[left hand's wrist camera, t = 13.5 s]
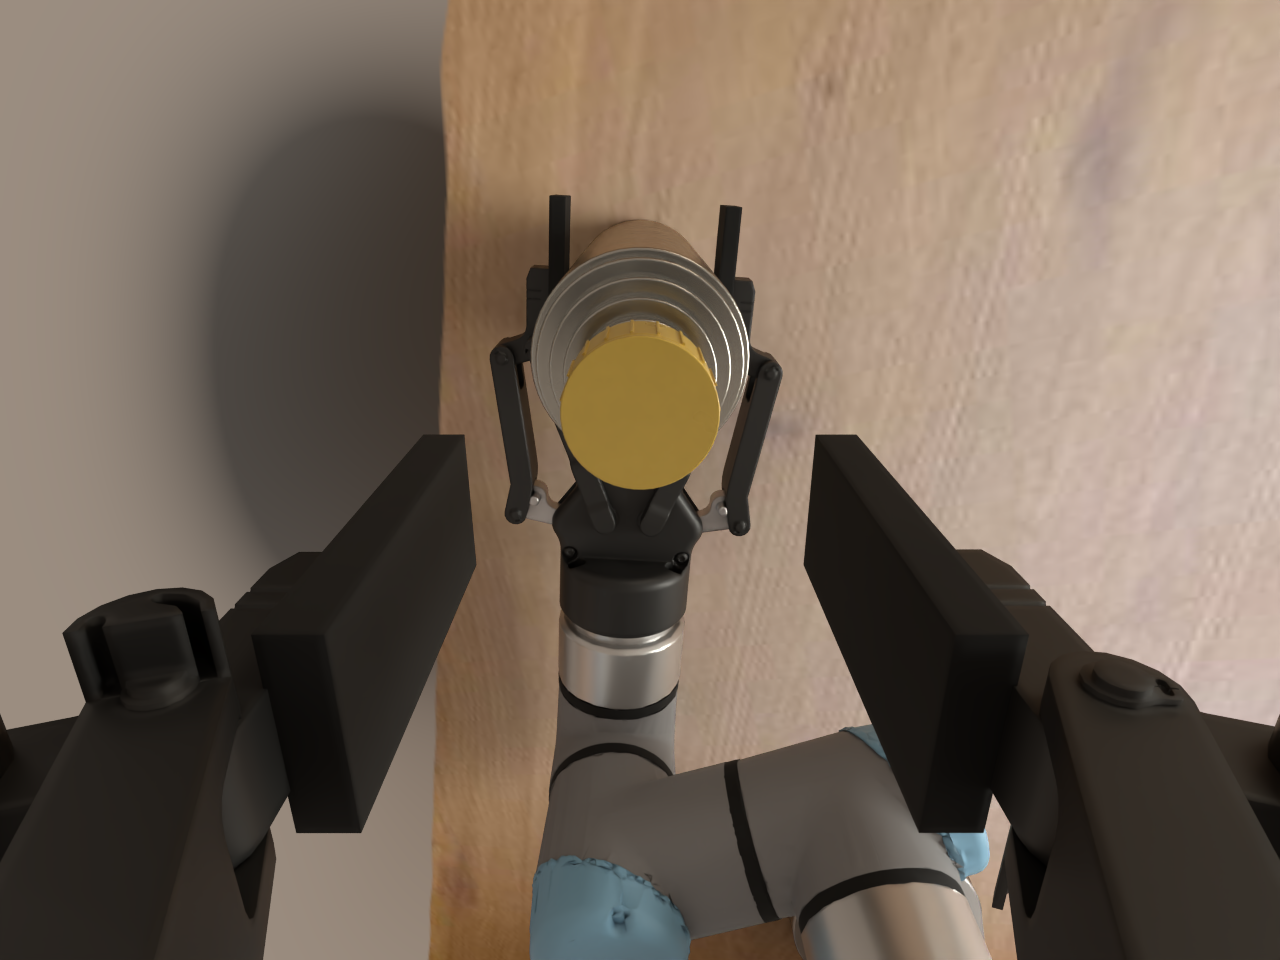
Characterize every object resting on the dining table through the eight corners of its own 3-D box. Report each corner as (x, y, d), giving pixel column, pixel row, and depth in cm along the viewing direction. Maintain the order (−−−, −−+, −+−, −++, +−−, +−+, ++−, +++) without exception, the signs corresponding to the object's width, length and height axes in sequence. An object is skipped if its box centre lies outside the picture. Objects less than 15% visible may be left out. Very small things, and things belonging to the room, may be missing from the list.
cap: (541, 423, 22) (531, 449, 20) (606, 291, 20) (602, 303, 18) (669, 485, 23) (672, 516, 20) (740, 361, 21) (752, 381, 19)
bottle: (555, 315, 44) (456, 468, 20) (611, 195, 42) (573, 210, 18) (666, 371, 45) (695, 578, 22) (727, 258, 43) (835, 351, 19)
